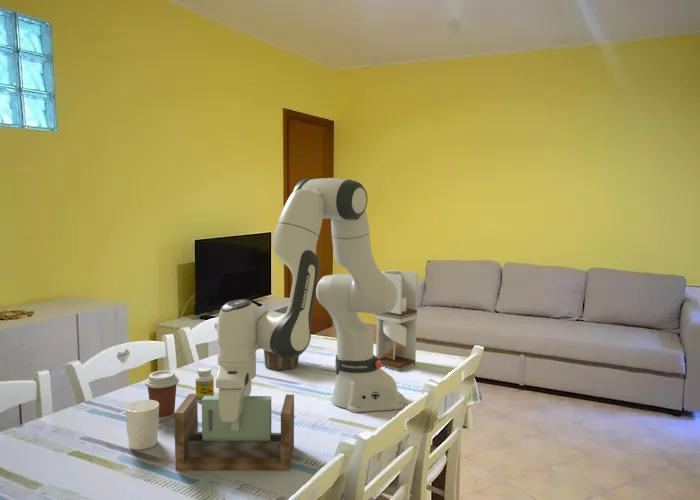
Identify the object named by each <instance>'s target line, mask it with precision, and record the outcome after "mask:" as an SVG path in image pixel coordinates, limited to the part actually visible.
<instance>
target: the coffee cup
mask: <svg viewBox="0 0 700 500" xmlns="http://www.w3.org/2000/svg"><path fill="white" fill-rule="evenodd" d="M179 382H180V379H179V377H178V376H176V373H175V372H174V371H172V370H157V371H153V372H151V373H150V374H149V375H148V378H146V380H145V381H144V385H145V387H147V393H148V400H154V401H157V402H158V403H159V421H160V420H161V421H162V420H167V419H171V418H173V417H175V416H174V413H175V412H176V396H177V385H178V384H179Z"/></svg>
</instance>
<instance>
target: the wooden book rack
mask: <svg viewBox="0 0 700 500" xmlns="http://www.w3.org/2000/svg"><path fill="white" fill-rule="evenodd" d="M198 413H199V411H198V401H197V394H196V393H189V394H187V396H186V397H185V399H184V400H183V401H182V402H181V404H180V405H179V407H177V409H175V413H174V416H173V417H174V454H175V455H174V456H175V458H174V459H175V460H174V463H175V467H174V468H175V471H283V472H284V471H285V472H286V471H287V472H288V471H290V469H291V463H292V459H293V454H294V447H295V394H285V398H284V400H283V405H282V408H281V410H280V432H271V441H202V431H200V432H199V420H198V419H199V418H198Z"/></svg>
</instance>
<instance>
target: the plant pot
mask: <svg viewBox="0 0 700 500" xmlns="http://www.w3.org/2000/svg"><path fill="white" fill-rule="evenodd" d="M263 356H264V357H263V358H264V366H265V368H267V369H269V370H273V371H279V370H283V371H288V370H294V369H297V367H298V365H299V359H300V355H299V356H298V357H296V358H294V359H285V358H283V357H281V356H278V355H276V354H275V353H272V352H269V351H266V350H263Z"/></svg>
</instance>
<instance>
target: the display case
mask: <svg viewBox="0 0 700 500" xmlns="http://www.w3.org/2000/svg"><path fill="white" fill-rule="evenodd" d="M381 272H382V273H383V274H384V275H385V276H386V277H387V278H388V279H389V280H391V281H392V282H393V283H394V285H395V286H396V288H397V292H398V299H397V303H396V305H395V307H394V308H393V309H392V310H391V311H390V312H387V313H377V314H374V319H376V343H375V346H376V349H375V353H376V354H375V356H376V355H377V356H378V358H379V359H380V361H381V362H382V367H381V368H383V367H385V368H384V369H387V368H388V370H391V369H392V370H391V371H394V370H396V371H395V372H398V371H399V372H401V371H400V370H402V371H404V370H406V369H405V368H407V369H409V368H411V367H410V366H412V365H414V366H416V358H417V356H416V355H417V354H416V353H417V351H416V350H417V324H418V322H417V321H418V317H417V316H418V287H419V286H418V282H419V279H418V278H419V273H418V272H413V271H404V270H397V269H390V270H384V271H383V270H382V271H381ZM408 367H409V368H408ZM412 367H413V366H412ZM403 369H404V370H403Z"/></svg>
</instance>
